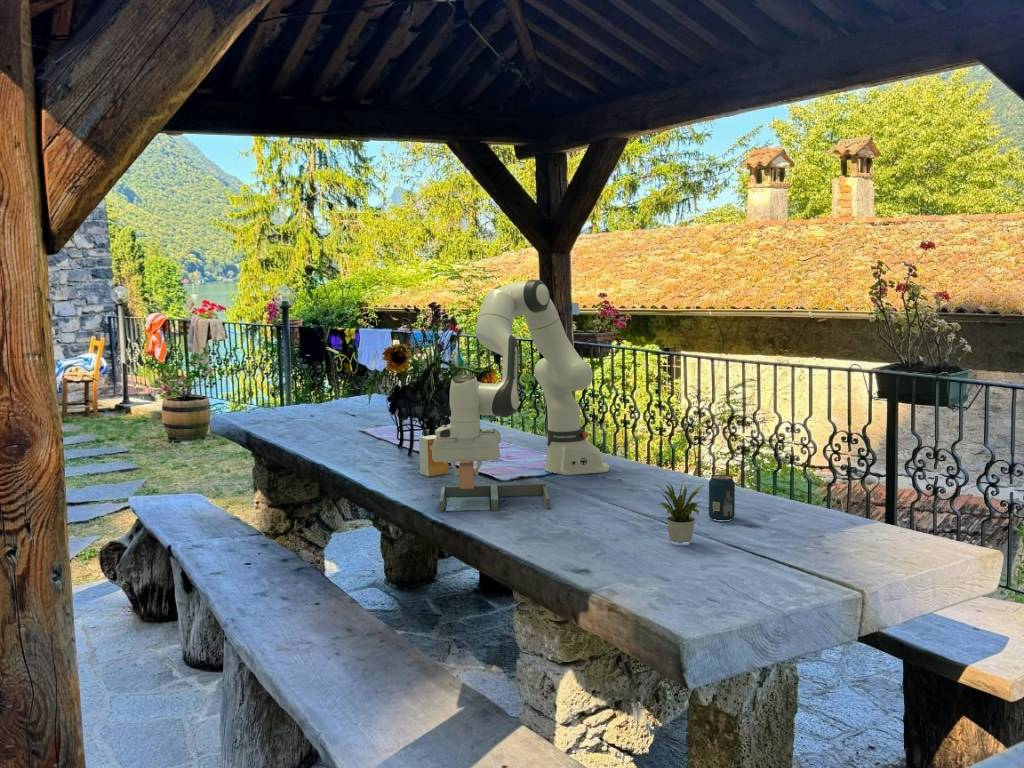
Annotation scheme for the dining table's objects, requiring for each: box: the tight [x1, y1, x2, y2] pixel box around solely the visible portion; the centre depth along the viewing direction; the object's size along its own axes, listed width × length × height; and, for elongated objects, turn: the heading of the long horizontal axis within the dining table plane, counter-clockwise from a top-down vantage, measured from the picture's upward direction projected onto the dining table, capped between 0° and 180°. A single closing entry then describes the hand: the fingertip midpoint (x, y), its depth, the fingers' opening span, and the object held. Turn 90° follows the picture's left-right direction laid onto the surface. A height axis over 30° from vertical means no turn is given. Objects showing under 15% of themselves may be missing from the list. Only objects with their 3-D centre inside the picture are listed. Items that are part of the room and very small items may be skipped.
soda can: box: [708, 473, 736, 520], centre depth 253 cm, size 7×7×12 cm
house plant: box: [649, 479, 705, 543], centre depth 233 cm, size 14×14×16 cm
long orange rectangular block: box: [458, 461, 475, 489], centre depth 276 cm, size 4×12×6 cm, turn 2°
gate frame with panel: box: [439, 483, 551, 512], centre depth 277 cm, size 32×17×4 cm, turn 92°
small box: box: [418, 434, 450, 477], centre depth 318 cm, size 8×6×13 cm
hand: (466, 475), depth 276 cm, fingers closed on long orange rectangular block, 4 cm apart
